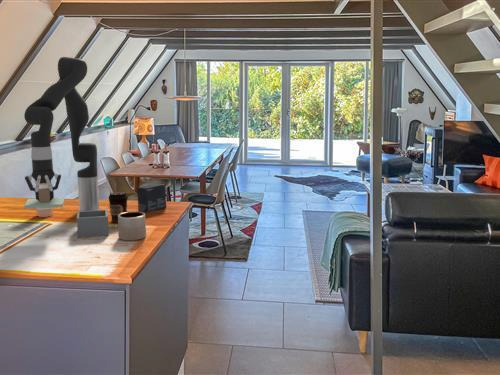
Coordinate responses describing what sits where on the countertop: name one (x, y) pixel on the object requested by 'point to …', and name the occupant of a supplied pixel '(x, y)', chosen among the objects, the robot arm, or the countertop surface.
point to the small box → (151, 197)
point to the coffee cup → (117, 204)
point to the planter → (131, 226)
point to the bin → (92, 223)
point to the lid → (44, 200)
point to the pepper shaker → (44, 211)
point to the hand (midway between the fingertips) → (44, 200)
